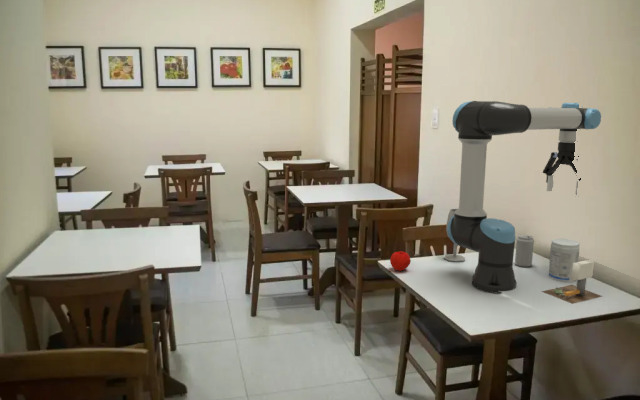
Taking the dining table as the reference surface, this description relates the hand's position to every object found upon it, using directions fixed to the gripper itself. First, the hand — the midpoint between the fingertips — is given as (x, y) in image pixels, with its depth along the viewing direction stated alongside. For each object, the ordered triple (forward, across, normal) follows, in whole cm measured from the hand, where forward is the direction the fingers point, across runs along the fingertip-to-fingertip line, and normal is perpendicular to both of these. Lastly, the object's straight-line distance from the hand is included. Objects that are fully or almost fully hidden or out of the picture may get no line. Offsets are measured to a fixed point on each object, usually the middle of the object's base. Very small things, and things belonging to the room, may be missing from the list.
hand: (563, 193), depth 211 cm
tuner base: (+28, -32, +32) cm, 53 cm away
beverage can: (+28, 0, +20) cm, 34 cm away
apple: (+28, +16, +69) cm, 76 cm away
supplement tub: (+28, -19, +21) cm, 40 cm away
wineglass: (+28, +18, +40) cm, 52 cm away
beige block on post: (+27, -34, +32) cm, 54 cm away
